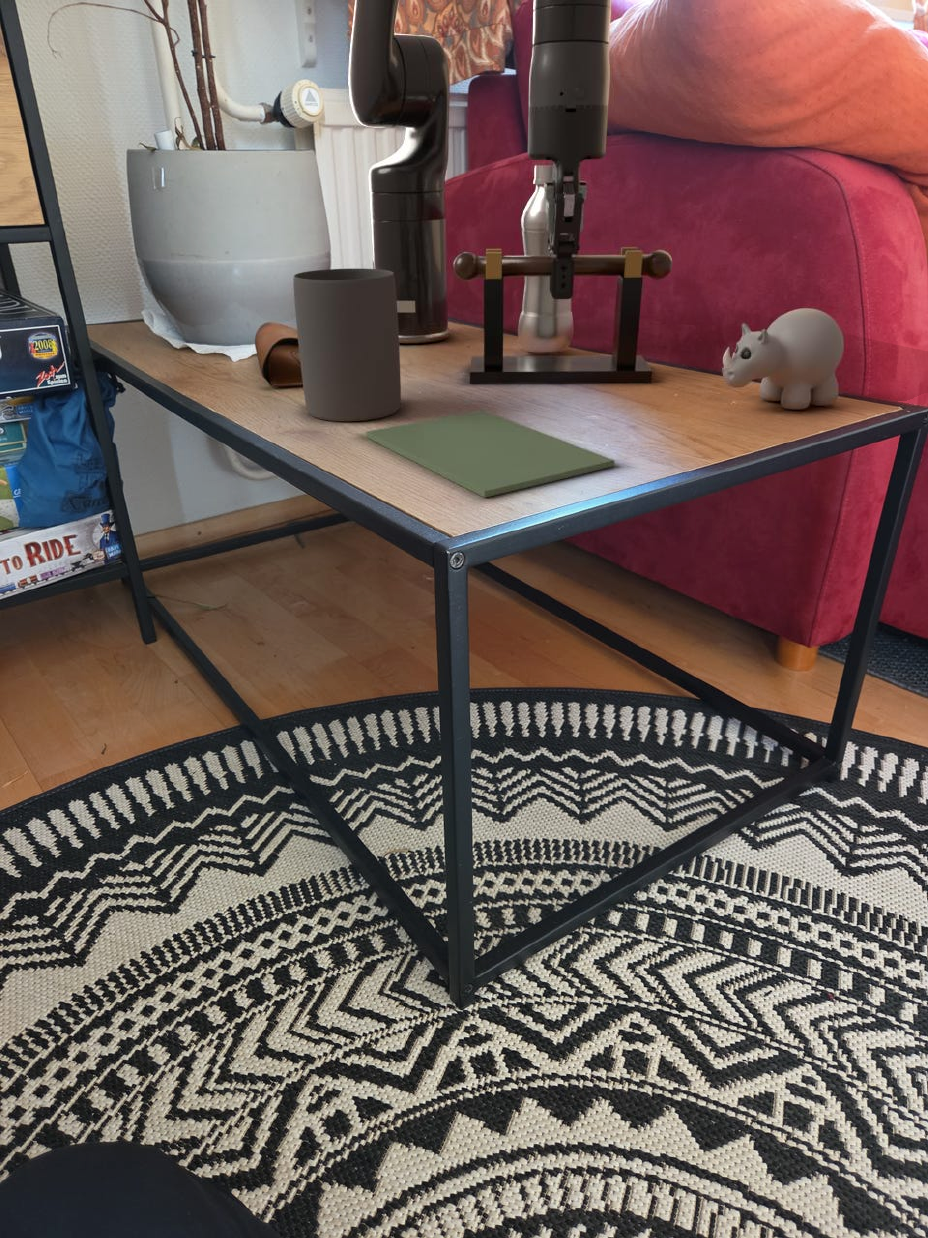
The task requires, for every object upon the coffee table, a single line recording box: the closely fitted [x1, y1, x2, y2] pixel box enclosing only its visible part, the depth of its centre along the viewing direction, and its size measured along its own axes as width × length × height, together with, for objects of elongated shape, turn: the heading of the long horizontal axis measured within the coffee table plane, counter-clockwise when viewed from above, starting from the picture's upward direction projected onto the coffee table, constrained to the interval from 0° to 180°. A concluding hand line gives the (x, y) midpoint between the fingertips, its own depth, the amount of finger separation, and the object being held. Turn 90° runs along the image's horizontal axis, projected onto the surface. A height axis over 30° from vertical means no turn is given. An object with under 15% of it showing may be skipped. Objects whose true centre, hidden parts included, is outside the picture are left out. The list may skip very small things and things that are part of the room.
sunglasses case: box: [254, 321, 303, 388], centre depth 96 cm, size 18×7×7 cm
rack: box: [469, 246, 653, 384], centre depth 90 cm, size 8×19×12 cm, turn 88°
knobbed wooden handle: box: [452, 249, 673, 282], centre depth 88 cm, size 3×22×3 cm, turn 88°
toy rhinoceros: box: [721, 307, 845, 411], centre depth 78 cm, size 7×12×8 cm, turn 108°
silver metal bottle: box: [517, 164, 575, 355], centre depth 98 cm, size 6×7×20 cm
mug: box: [292, 268, 402, 422], centre depth 80 cm, size 14×9×12 cm
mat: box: [365, 410, 615, 499], centre depth 69 cm, size 18×12×1 cm, turn 33°
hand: (560, 295), depth 89 cm, fingers closed
